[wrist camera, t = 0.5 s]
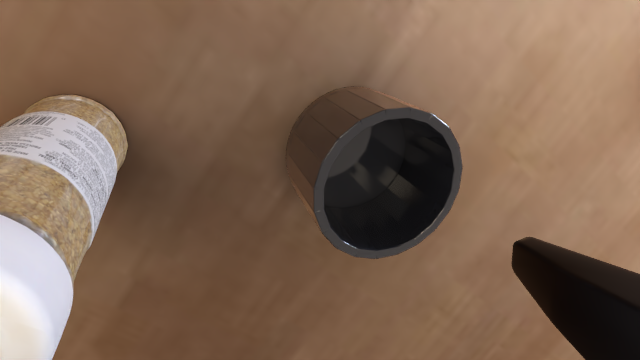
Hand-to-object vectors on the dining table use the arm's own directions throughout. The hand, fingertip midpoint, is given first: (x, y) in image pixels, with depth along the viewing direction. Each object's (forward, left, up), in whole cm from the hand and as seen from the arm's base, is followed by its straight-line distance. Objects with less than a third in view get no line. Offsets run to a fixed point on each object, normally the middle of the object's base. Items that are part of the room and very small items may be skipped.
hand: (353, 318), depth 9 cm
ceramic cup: (+4, -4, -14) cm, 15 cm away
